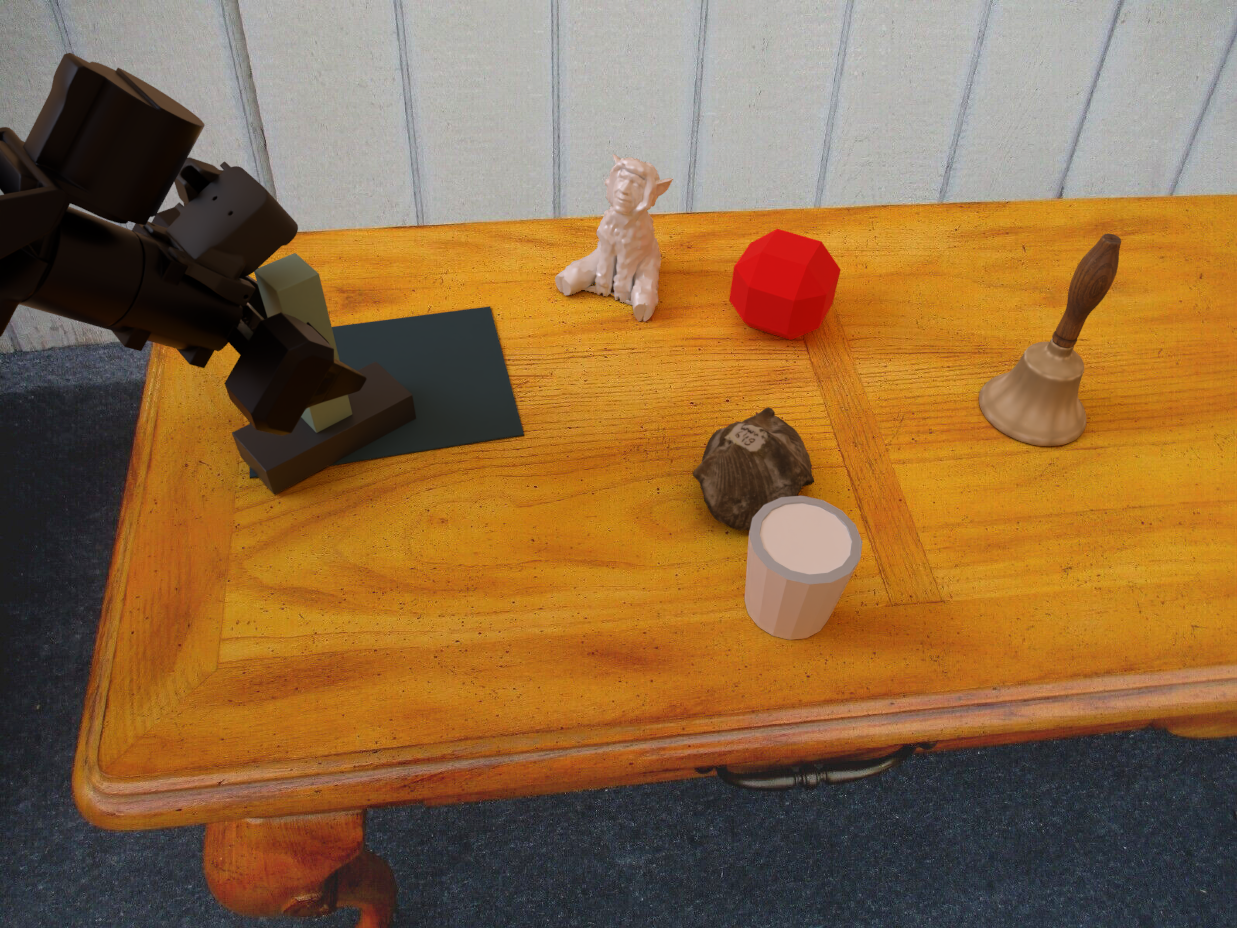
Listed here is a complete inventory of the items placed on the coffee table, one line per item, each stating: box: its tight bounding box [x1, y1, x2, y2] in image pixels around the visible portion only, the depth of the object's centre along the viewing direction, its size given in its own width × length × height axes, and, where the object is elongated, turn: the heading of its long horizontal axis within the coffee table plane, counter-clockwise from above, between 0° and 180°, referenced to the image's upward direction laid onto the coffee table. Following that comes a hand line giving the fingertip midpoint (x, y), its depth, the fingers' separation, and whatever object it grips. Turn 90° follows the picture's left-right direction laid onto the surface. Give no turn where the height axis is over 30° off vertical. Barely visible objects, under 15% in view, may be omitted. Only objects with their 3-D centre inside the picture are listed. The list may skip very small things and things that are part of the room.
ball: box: [728, 228, 842, 341], centre depth 80 cm, size 8×8×8 cm
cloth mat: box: [249, 305, 525, 479], centre depth 76 cm, size 20×16×1 cm
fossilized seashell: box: [692, 406, 815, 531], centre depth 68 cm, size 8×7×10 cm
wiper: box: [231, 252, 416, 496], centre depth 66 cm, size 12×5×15 cm, turn 132°
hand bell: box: [978, 233, 1122, 447], centre depth 70 cm, size 8×8×16 cm
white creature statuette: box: [554, 153, 674, 323], centre depth 81 cm, size 10×9×12 cm
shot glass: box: [744, 495, 863, 641], centre depth 60 cm, size 7×7×7 cm
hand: (327, 349), depth 66 cm, fingers open, 9 cm apart
